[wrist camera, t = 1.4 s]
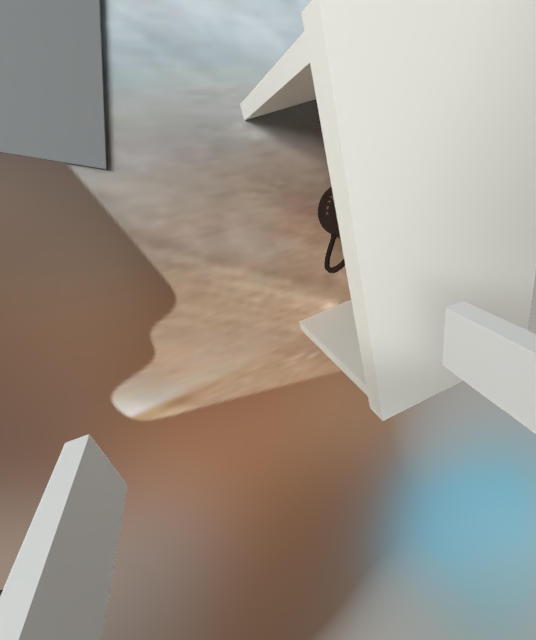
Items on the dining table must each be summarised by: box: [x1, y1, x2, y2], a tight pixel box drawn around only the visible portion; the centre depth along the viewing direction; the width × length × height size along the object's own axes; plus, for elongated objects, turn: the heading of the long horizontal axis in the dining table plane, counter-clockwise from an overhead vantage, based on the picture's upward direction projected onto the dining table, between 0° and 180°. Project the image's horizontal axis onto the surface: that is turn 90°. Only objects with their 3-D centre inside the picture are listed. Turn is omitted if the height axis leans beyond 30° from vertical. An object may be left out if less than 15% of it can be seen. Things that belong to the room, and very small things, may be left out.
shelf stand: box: [240, 0, 536, 421], centre depth 32 cm, size 17×30×20 cm, turn 16°
